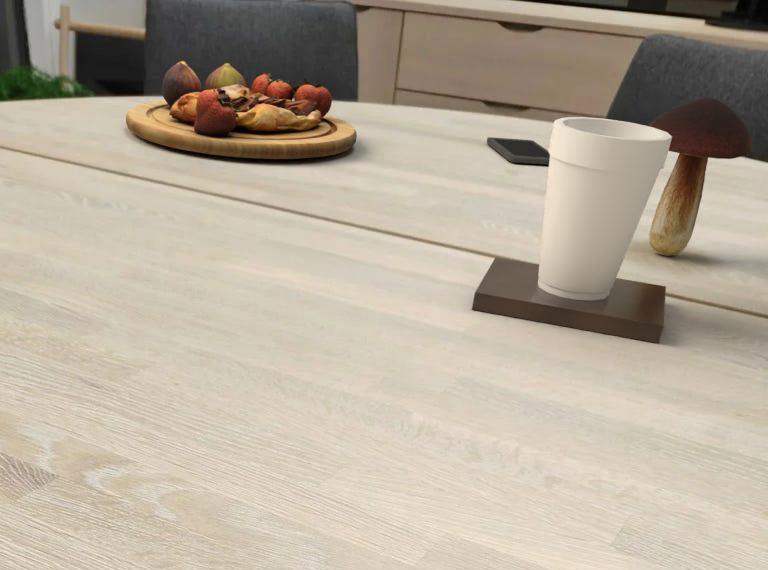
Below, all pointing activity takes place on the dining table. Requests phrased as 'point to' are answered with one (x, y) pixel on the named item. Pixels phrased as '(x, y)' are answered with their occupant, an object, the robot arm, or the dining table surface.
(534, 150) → the cell phone
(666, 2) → the robot arm
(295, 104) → the wooden plate
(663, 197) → the decorative mushroom
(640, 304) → the walnut board
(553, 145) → the foam cup
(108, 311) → the dining table surface
